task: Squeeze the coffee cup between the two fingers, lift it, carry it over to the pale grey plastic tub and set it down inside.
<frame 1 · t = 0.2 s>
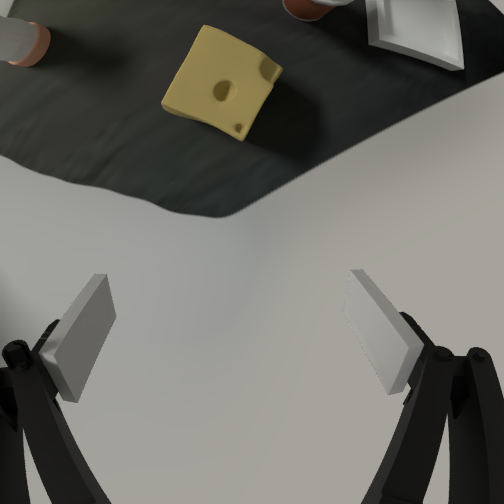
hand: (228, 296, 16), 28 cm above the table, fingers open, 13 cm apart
salt shaker: (34, 46, 28), on the table
tub: (410, 14, 31), on the table
coffee cup: (304, 4, 31), on the table
cheese: (223, 93, 36), on the table
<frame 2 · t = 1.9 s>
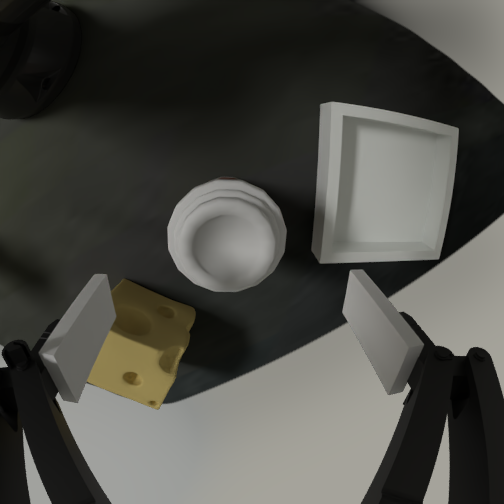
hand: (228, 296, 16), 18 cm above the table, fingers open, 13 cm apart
tub: (383, 183, 32), on the table
coffee cup: (226, 205, 32), on the table
cheese: (145, 320, 37), on the table
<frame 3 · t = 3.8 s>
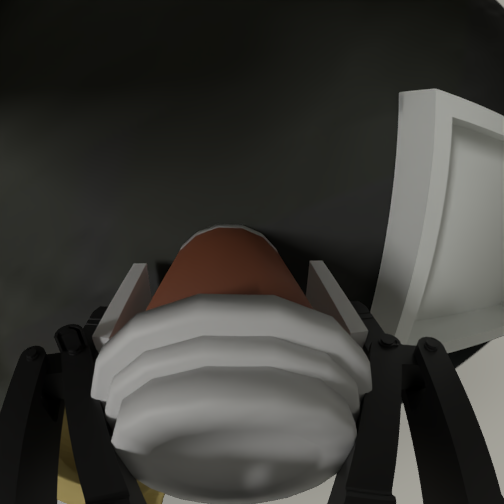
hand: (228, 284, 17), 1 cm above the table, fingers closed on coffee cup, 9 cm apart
tub: (473, 229, 18), on the table
coffee cup: (228, 274, 18), on the table, touching gripper
cheese: (116, 415, 23), on the table
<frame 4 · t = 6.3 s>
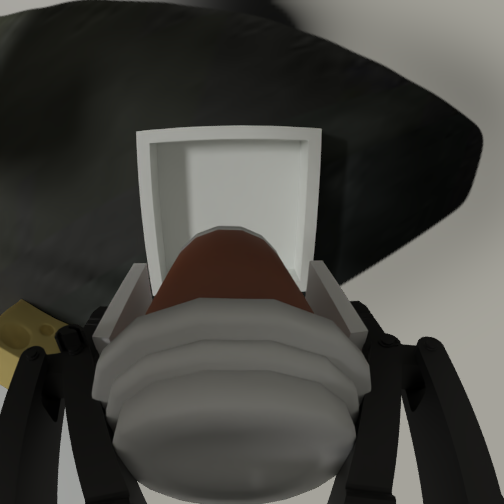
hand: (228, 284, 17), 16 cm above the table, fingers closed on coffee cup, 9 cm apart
tub: (229, 206, 31), on the table
coffee cup: (228, 276, 18), point 15 cm above the table, touching gripper
cheese: (44, 334, 36), on the table
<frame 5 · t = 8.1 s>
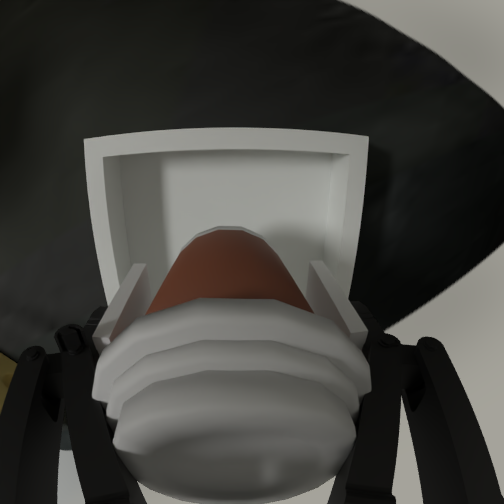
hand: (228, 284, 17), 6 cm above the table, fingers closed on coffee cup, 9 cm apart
tub: (226, 246, 22), on the table
coffee cup: (228, 276, 18), point 4 cm above the table, touching gripper
cheese: (13, 378, 27), on the table
when the fingers open (3 cm above the table, at t = 9.0 s): coffee cup drops 2 cm, resting on tub.
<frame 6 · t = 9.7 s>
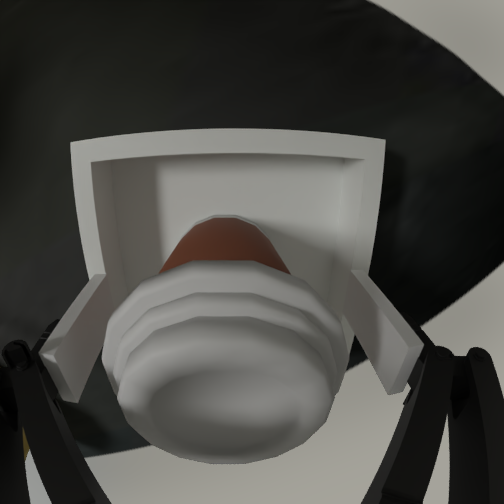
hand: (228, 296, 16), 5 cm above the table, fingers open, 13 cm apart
tub: (227, 258, 20), on the table
coffee cup: (224, 261, 20), resting on tub
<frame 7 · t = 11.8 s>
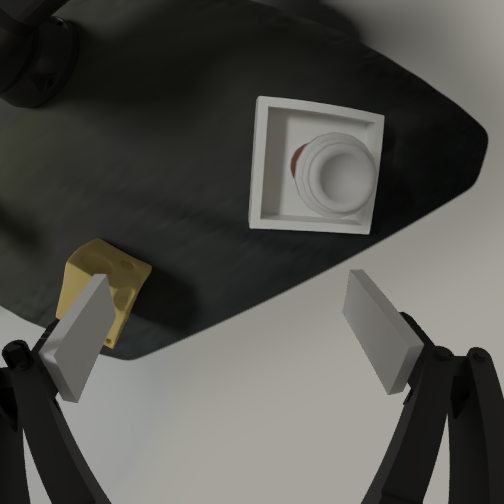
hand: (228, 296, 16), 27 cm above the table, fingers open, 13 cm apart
tub: (313, 165, 39), on the table
coffee cup: (312, 165, 39), resting on tub
cheese: (113, 276, 44), on the table
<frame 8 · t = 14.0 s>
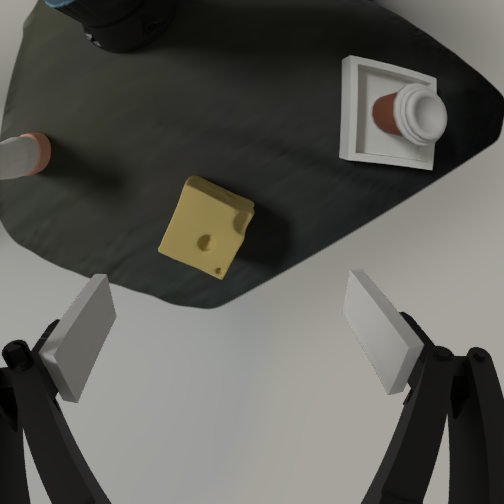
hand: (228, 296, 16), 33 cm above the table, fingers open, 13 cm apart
salt shaker: (36, 152, 40), on the table
tub: (386, 114, 43), on the table
coffee cup: (386, 114, 42), resting on tub
cheese: (208, 214, 48), on the table
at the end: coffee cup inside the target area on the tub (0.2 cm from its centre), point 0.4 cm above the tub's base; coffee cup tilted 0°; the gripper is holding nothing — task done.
